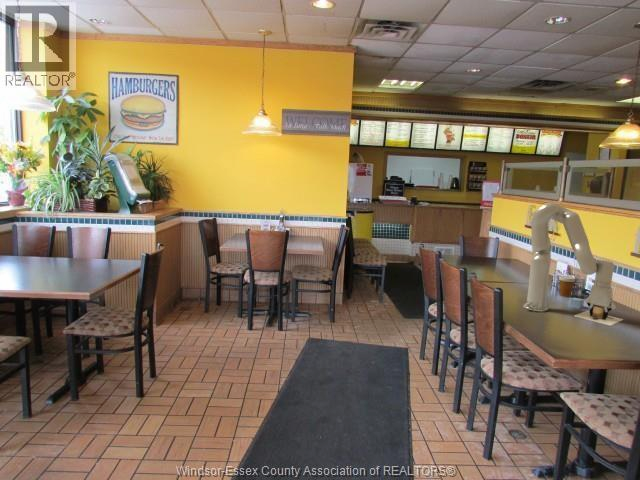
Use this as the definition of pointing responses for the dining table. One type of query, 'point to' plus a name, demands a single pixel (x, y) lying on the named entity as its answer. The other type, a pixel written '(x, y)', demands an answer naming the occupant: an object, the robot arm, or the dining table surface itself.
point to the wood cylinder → (598, 312)
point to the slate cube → (577, 302)
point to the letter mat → (607, 321)
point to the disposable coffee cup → (566, 285)
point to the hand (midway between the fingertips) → (598, 316)
